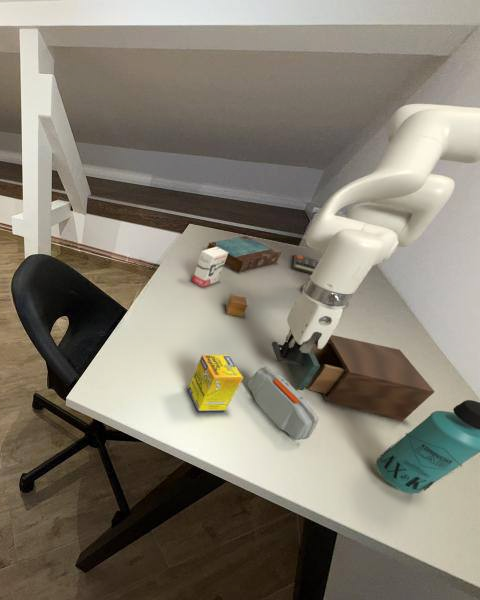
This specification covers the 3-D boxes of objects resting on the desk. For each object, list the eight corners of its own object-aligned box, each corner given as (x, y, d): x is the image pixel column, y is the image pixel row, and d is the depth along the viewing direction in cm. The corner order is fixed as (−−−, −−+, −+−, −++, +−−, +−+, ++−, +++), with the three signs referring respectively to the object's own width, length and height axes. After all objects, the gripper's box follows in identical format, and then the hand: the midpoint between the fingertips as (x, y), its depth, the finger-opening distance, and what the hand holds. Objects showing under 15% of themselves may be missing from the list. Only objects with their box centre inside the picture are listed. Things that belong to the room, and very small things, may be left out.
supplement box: (186, 390, 68) (201, 354, 62) (212, 389, 69) (229, 354, 63) (197, 413, 63) (213, 377, 57) (224, 413, 64) (244, 376, 58)
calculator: (326, 262, 129) (327, 276, 118) (325, 264, 129) (326, 278, 119) (295, 253, 134) (293, 266, 123) (294, 255, 134) (292, 268, 123)
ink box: (202, 287, 106) (213, 256, 99) (191, 281, 109) (201, 250, 103) (218, 282, 110) (229, 251, 103) (206, 275, 113) (216, 246, 107)
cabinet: (325, 402, 68) (350, 371, 63) (308, 362, 78) (328, 334, 73) (402, 421, 65) (435, 391, 60) (374, 378, 76) (399, 349, 70)
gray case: (305, 443, 59) (327, 418, 55) (293, 447, 59) (314, 421, 54) (251, 385, 71) (266, 360, 66) (241, 387, 70) (255, 362, 65)
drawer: (270, 382, 71) (285, 358, 66) (261, 350, 80) (274, 326, 75) (365, 407, 67) (388, 382, 62) (344, 369, 76) (362, 346, 72)
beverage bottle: (367, 454, 58) (446, 383, 47) (413, 476, 56) (508, 406, 44) (370, 483, 54) (458, 412, 43) (420, 509, 51) (528, 440, 40)
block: (225, 305, 98) (230, 294, 95) (240, 308, 97) (245, 297, 94) (226, 313, 94) (231, 301, 92) (242, 316, 93) (247, 305, 91)
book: (238, 273, 117) (243, 261, 114) (204, 253, 130) (207, 242, 127) (276, 263, 126) (281, 252, 124) (240, 246, 139) (244, 235, 136)
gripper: (365, 317, 55) (314, 386, 66) (333, 278, 67) (294, 341, 78) (318, 308, 57) (275, 376, 67) (296, 271, 69) (262, 334, 79)
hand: (286, 357), depth 72 cm, fingers closed
